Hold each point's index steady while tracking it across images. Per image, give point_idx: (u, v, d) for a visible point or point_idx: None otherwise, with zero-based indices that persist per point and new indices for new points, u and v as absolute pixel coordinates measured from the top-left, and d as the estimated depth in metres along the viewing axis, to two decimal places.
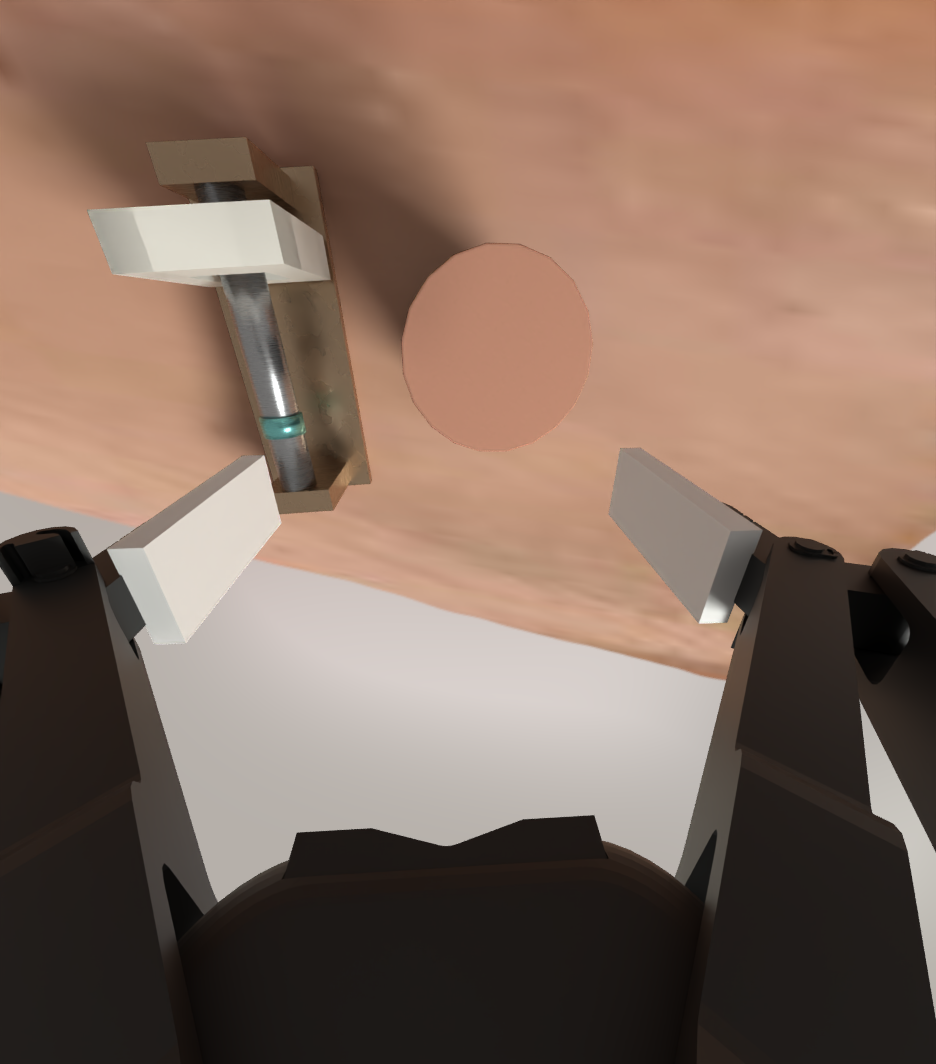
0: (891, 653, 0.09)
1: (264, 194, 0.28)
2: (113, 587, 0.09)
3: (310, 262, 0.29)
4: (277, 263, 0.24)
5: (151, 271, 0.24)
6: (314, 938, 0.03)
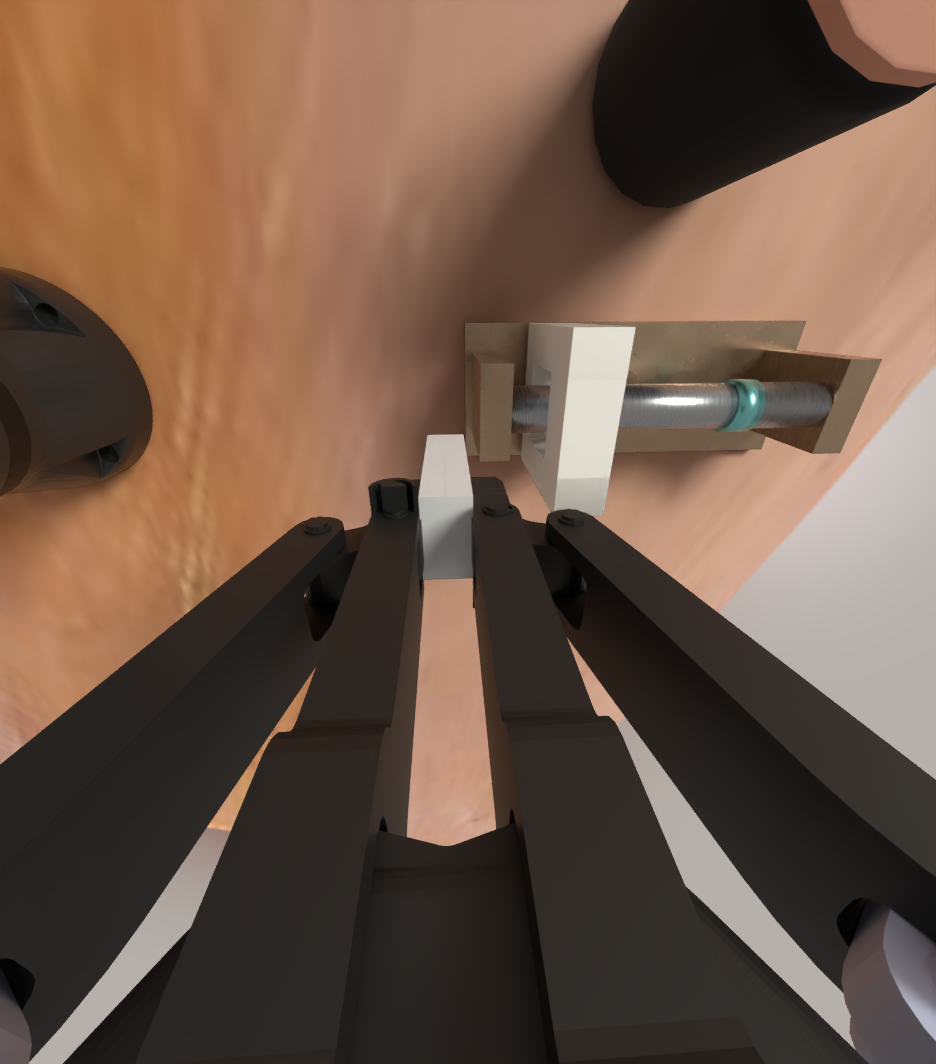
0: (577, 593, 0.10)
1: None
2: (421, 528, 0.11)
3: (583, 324, 0.24)
4: (633, 335, 0.19)
5: (608, 479, 0.23)
6: None
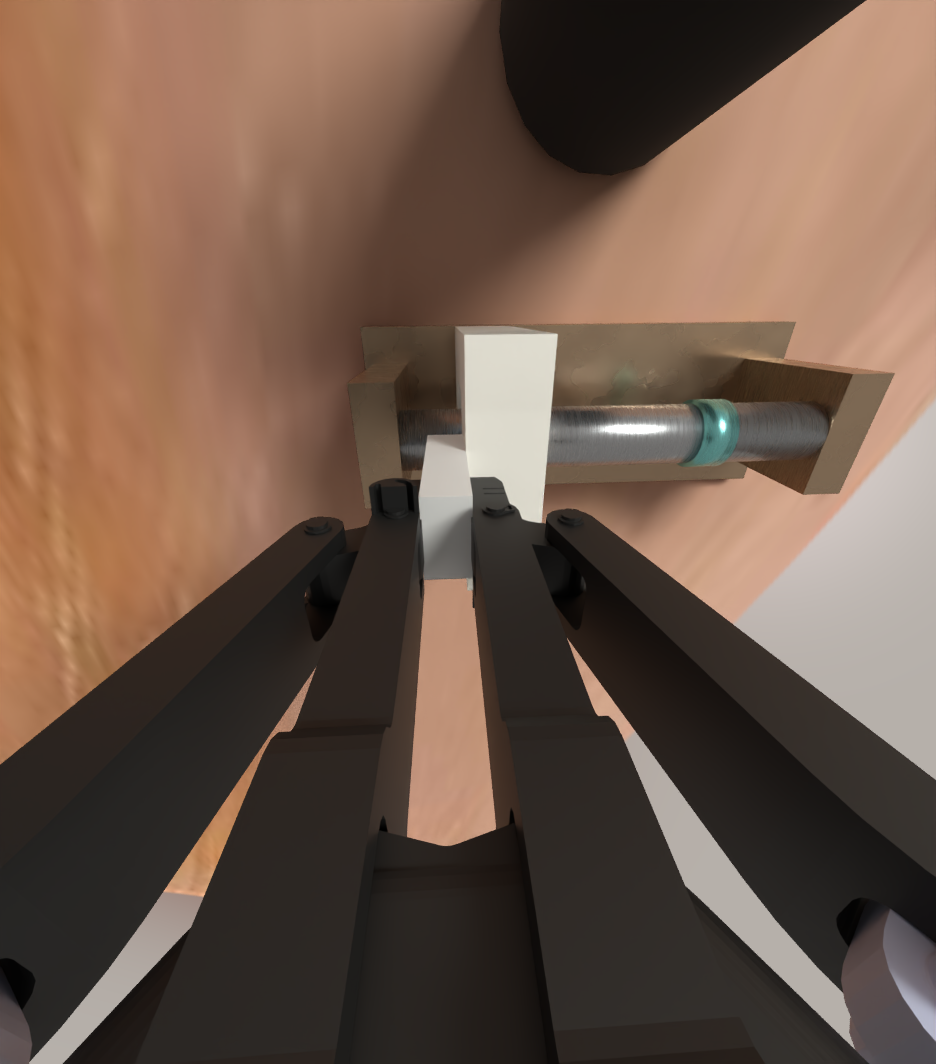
0: (577, 593, 0.10)
1: (401, 388, 0.21)
2: (421, 527, 0.11)
3: (509, 328, 0.18)
4: (555, 346, 0.13)
5: None
6: None
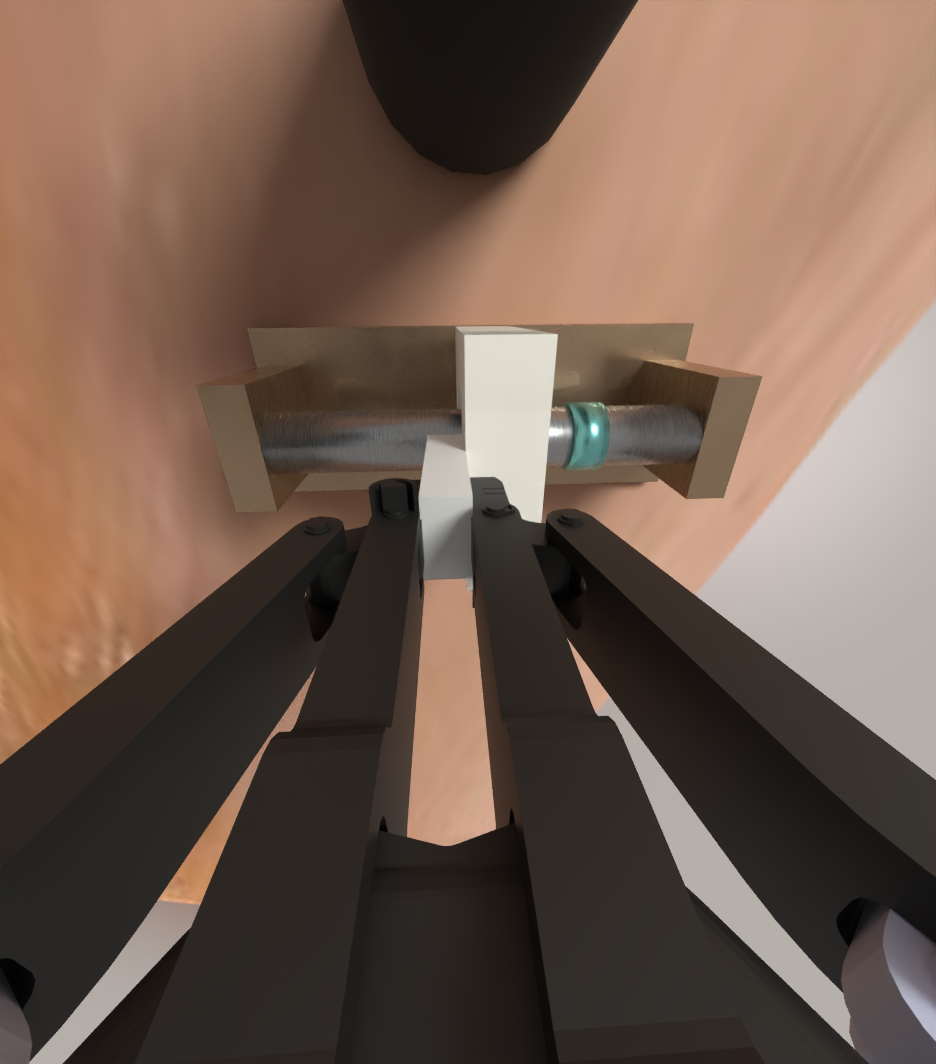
0: (577, 593, 0.10)
1: (276, 390, 0.20)
2: (421, 527, 0.11)
3: None
4: (555, 346, 0.13)
5: None
6: None
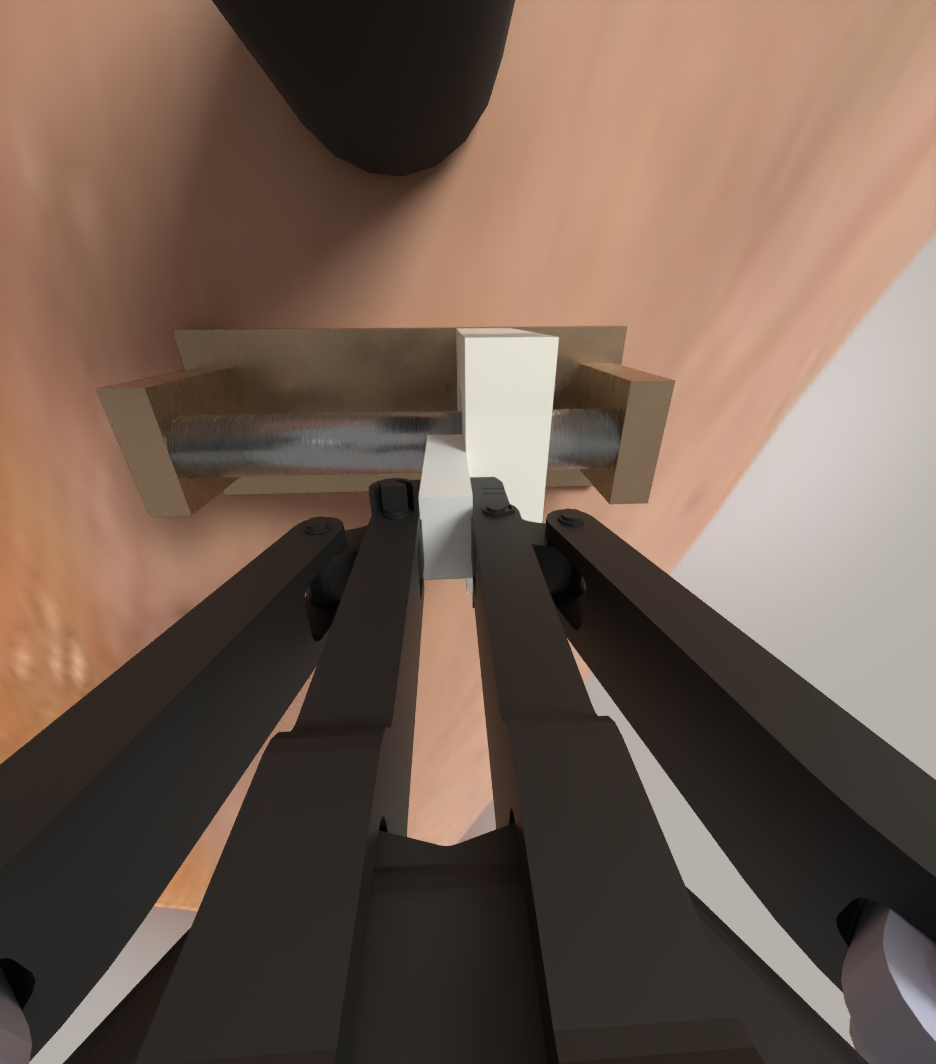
0: (576, 593, 0.10)
1: (192, 393, 0.20)
2: (421, 527, 0.11)
3: None
4: (556, 349, 0.13)
5: None
6: None
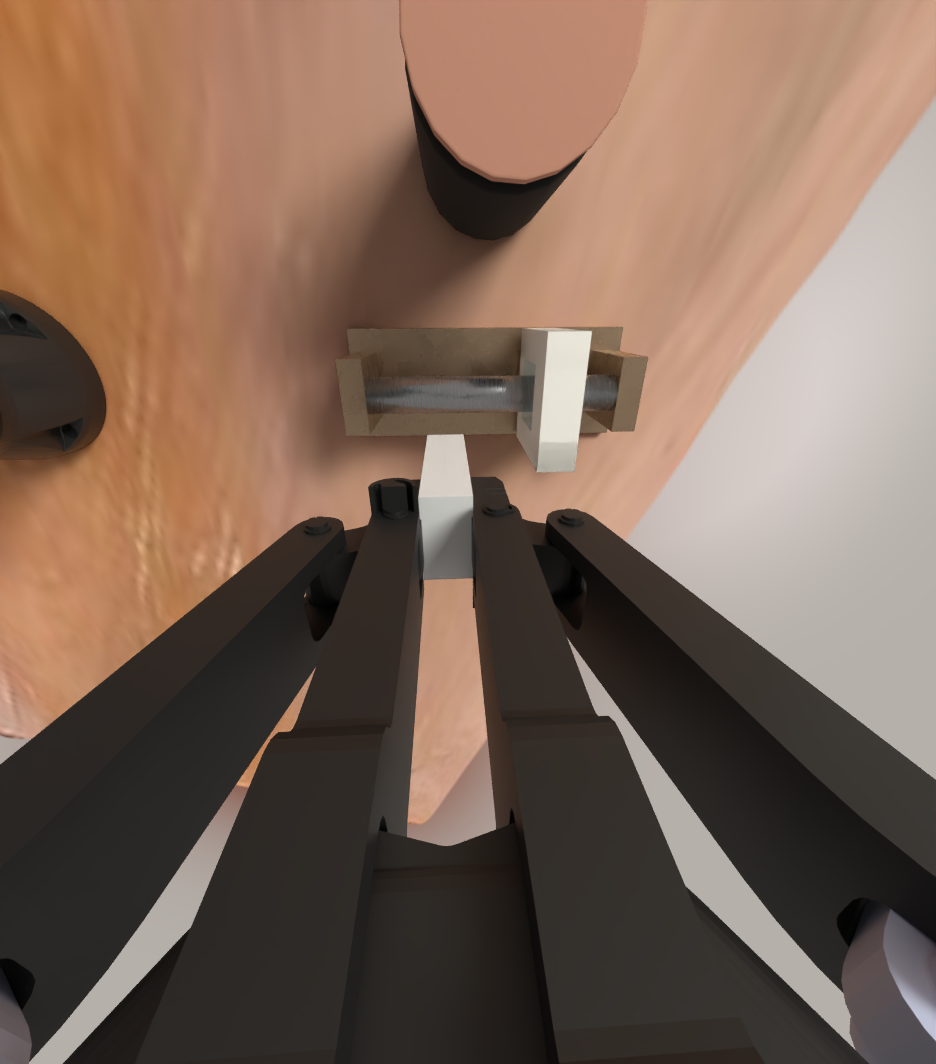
0: (577, 594, 0.10)
1: (369, 365, 0.35)
2: (421, 527, 0.11)
3: None
4: (590, 337, 0.27)
5: (577, 443, 0.31)
6: None
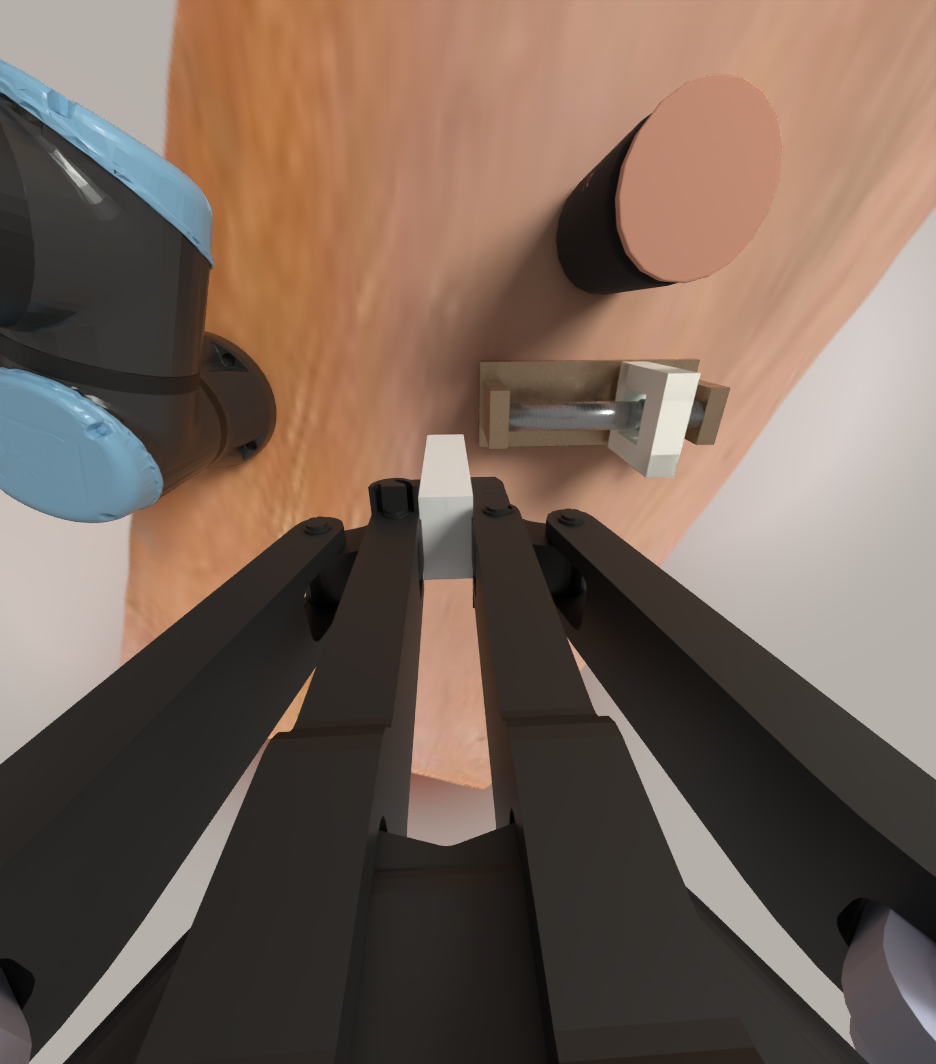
0: (577, 593, 0.10)
1: None
2: (421, 527, 0.11)
3: (662, 366, 0.42)
4: (698, 377, 0.37)
5: (678, 455, 0.40)
6: None
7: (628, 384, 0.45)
